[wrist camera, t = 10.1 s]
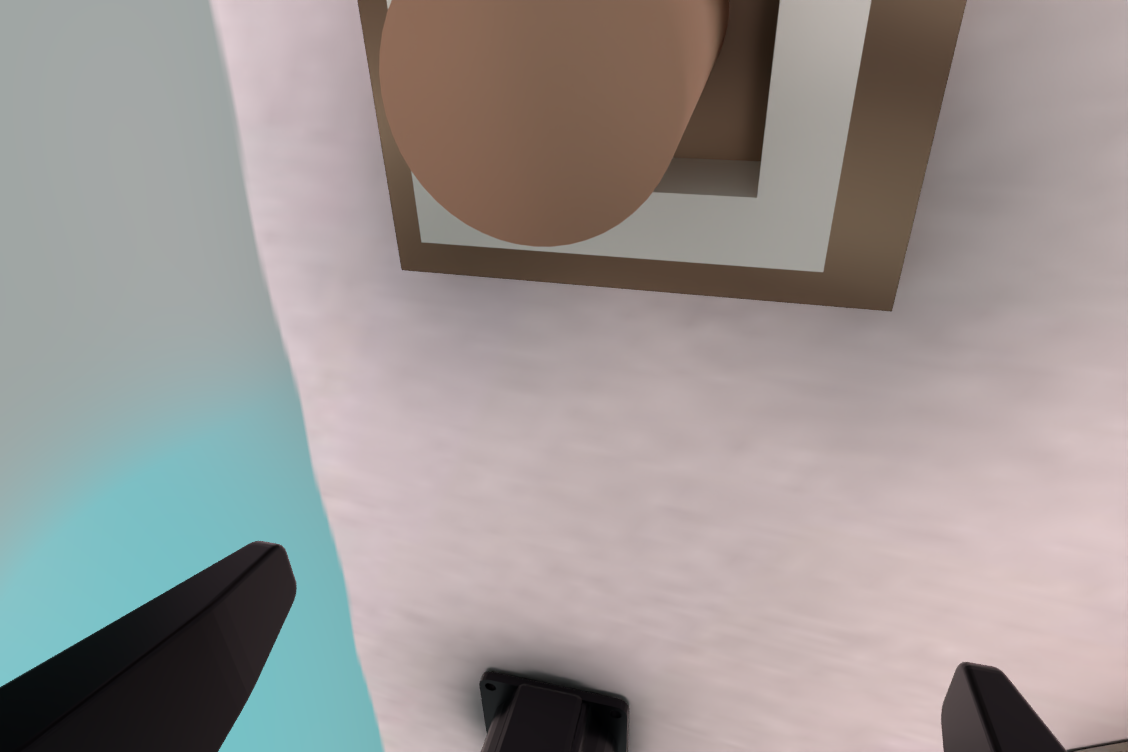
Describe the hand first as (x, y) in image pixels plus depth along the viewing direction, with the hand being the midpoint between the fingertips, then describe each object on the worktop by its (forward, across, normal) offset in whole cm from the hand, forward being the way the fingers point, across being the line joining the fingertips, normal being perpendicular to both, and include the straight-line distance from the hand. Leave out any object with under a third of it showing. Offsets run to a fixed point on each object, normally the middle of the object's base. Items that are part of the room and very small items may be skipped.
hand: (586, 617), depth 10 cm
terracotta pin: (+11, +1, -6) cm, 13 cm away
